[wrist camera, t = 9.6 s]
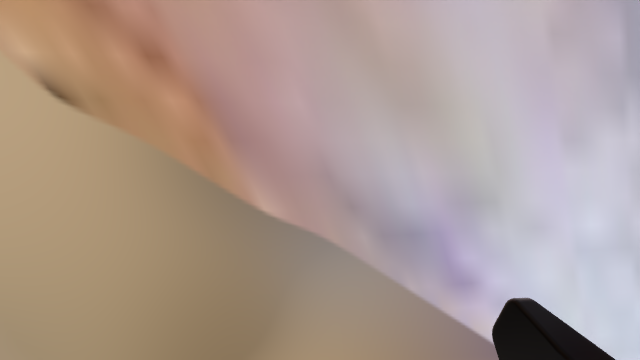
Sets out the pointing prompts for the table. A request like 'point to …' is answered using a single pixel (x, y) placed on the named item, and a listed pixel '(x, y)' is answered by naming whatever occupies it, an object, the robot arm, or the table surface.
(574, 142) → the table surface
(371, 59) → the table surface
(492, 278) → the table surface
